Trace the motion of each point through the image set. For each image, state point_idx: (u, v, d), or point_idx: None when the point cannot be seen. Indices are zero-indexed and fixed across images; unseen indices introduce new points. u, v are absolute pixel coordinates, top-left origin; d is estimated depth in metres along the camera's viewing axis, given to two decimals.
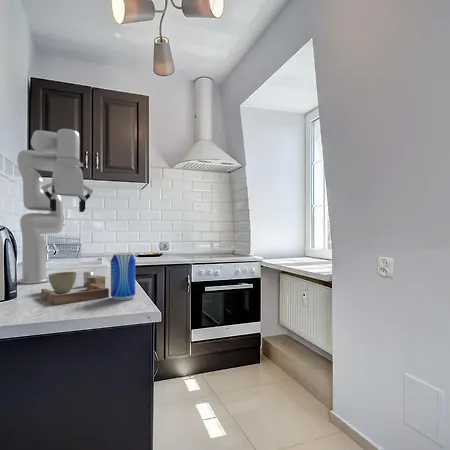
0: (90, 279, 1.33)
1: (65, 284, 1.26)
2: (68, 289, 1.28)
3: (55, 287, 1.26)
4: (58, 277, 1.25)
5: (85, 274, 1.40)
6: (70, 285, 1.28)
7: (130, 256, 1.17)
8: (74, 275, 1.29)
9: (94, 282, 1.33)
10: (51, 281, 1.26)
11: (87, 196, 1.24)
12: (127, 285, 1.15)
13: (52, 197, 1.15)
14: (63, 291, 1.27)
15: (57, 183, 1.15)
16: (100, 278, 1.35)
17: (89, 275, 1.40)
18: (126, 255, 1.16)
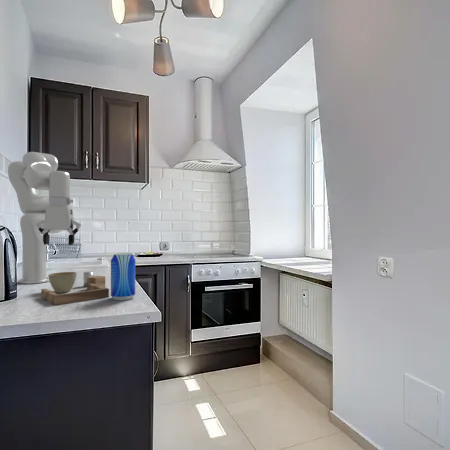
0: (90, 279, 1.33)
1: (65, 284, 1.26)
2: (68, 289, 1.28)
3: (55, 287, 1.26)
4: (58, 277, 1.25)
5: (85, 274, 1.40)
6: (70, 285, 1.28)
7: (130, 256, 1.17)
8: (74, 275, 1.29)
9: (94, 282, 1.33)
10: (51, 281, 1.26)
11: (74, 230, 1.32)
12: (127, 285, 1.15)
13: (43, 232, 1.32)
14: (63, 291, 1.27)
15: (45, 220, 1.31)
16: (100, 278, 1.35)
17: (89, 275, 1.40)
18: (126, 255, 1.16)
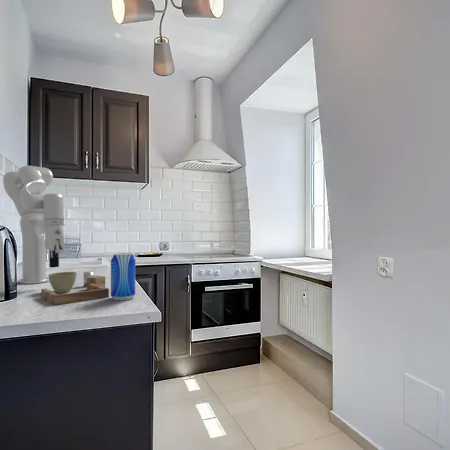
0: (90, 279, 1.33)
1: (65, 284, 1.26)
2: (68, 289, 1.28)
3: (55, 287, 1.26)
4: (58, 277, 1.25)
5: (85, 274, 1.40)
6: (70, 285, 1.28)
7: (130, 256, 1.17)
8: (74, 275, 1.29)
9: (94, 282, 1.33)
10: (51, 281, 1.26)
11: None
12: (128, 285, 1.15)
13: (49, 256, 1.38)
14: (63, 291, 1.27)
15: (45, 241, 1.40)
16: (100, 278, 1.35)
17: (89, 275, 1.40)
18: (126, 255, 1.16)
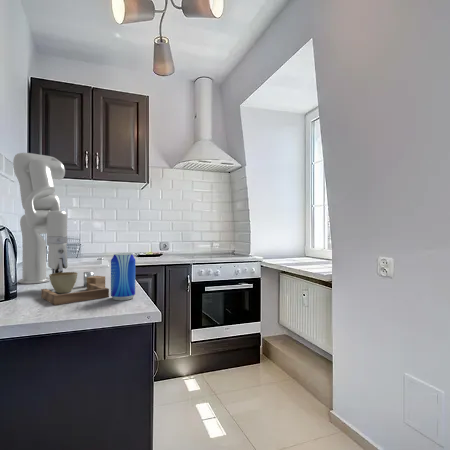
0: (91, 279, 1.33)
1: (66, 284, 1.26)
2: (69, 289, 1.28)
3: (56, 287, 1.25)
4: (59, 277, 1.24)
5: (85, 274, 1.40)
6: (71, 285, 1.28)
7: (130, 256, 1.17)
8: (75, 275, 1.28)
9: (94, 282, 1.33)
10: (52, 281, 1.25)
11: None
12: (127, 285, 1.15)
13: None
14: (64, 291, 1.26)
15: (48, 258, 1.36)
16: (100, 278, 1.35)
17: (89, 275, 1.40)
18: (126, 255, 1.16)
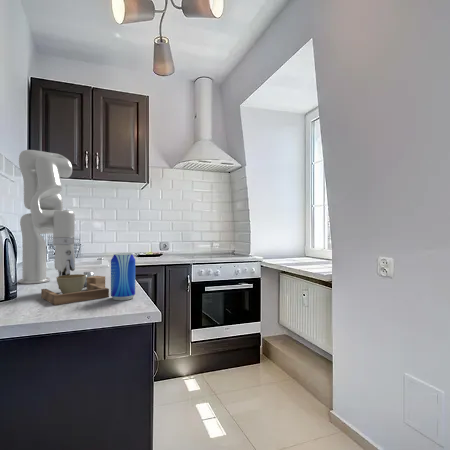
0: (91, 279, 1.33)
1: (74, 287, 1.20)
2: None
3: (64, 290, 1.19)
4: (67, 280, 1.18)
5: (85, 274, 1.40)
6: (79, 288, 1.22)
7: (130, 256, 1.17)
8: (84, 278, 1.22)
9: (94, 282, 1.33)
10: (60, 284, 1.19)
11: (63, 274, 1.26)
12: (127, 285, 1.15)
13: None
14: None
15: None
16: (100, 278, 1.35)
17: (89, 275, 1.40)
18: (126, 255, 1.16)
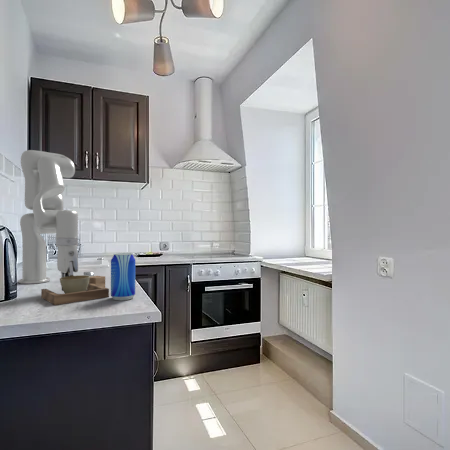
0: (90, 279, 1.33)
1: (78, 289, 1.17)
2: None
3: (67, 292, 1.17)
4: (71, 281, 1.16)
5: (85, 274, 1.40)
6: (83, 290, 1.19)
7: (130, 256, 1.17)
8: (88, 279, 1.20)
9: (94, 282, 1.33)
10: (63, 285, 1.16)
11: (66, 276, 1.24)
12: (127, 285, 1.15)
13: None
14: None
15: (57, 261, 1.28)
16: (100, 278, 1.35)
17: (89, 275, 1.40)
18: (126, 255, 1.16)
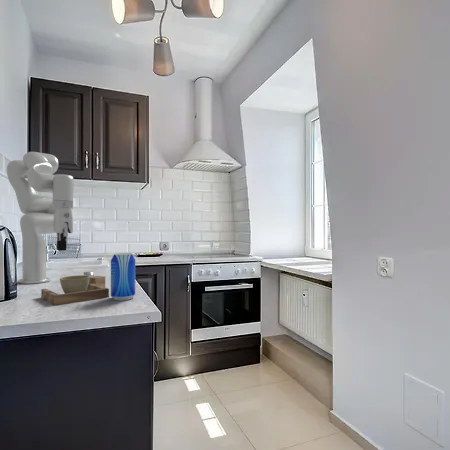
0: (90, 279, 1.33)
1: (78, 289, 1.17)
2: None
3: (67, 292, 1.17)
4: (71, 281, 1.16)
5: (85, 274, 1.40)
6: (83, 290, 1.19)
7: (130, 256, 1.17)
8: (88, 279, 1.20)
9: (94, 282, 1.33)
10: (63, 286, 1.16)
11: None
12: (127, 285, 1.15)
13: (57, 238, 1.34)
14: None
15: (53, 223, 1.36)
16: (100, 278, 1.35)
17: (89, 275, 1.40)
18: (126, 255, 1.16)
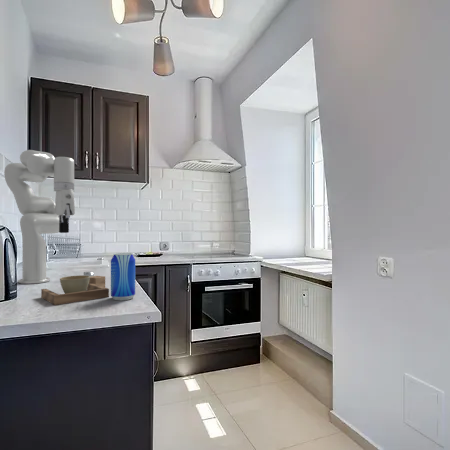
0: (91, 279, 1.33)
1: (78, 289, 1.17)
2: None
3: (67, 292, 1.17)
4: (71, 281, 1.16)
5: (85, 274, 1.40)
6: (83, 290, 1.19)
7: (130, 256, 1.17)
8: (88, 279, 1.20)
9: (94, 282, 1.33)
10: (63, 286, 1.16)
11: (63, 218, 1.32)
12: (127, 285, 1.15)
13: (59, 221, 1.35)
14: None
15: (55, 206, 1.36)
16: (100, 278, 1.35)
17: (89, 275, 1.40)
18: (126, 255, 1.16)
